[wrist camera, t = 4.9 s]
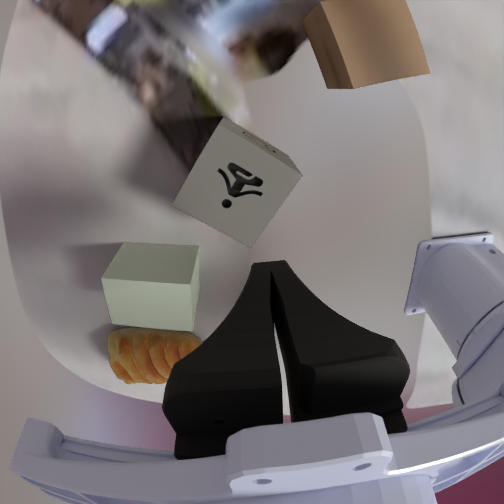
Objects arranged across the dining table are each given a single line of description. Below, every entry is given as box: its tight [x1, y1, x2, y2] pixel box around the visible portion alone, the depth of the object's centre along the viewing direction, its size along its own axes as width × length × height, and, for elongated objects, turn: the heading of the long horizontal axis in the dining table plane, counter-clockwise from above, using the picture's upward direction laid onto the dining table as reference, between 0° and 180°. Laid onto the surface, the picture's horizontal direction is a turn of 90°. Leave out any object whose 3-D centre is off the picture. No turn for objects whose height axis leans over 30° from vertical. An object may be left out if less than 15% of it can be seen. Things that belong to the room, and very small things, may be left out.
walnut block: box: [302, 0, 430, 89], centre depth 14 cm, size 5×5×5 cm
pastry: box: [107, 327, 203, 384], centre depth 27 cm, size 9×7×4 cm
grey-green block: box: [101, 242, 200, 331], centre depth 22 cm, size 6×4×5 cm, turn 86°
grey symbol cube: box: [172, 117, 303, 248], centre depth 18 cm, size 5×5×5 cm
